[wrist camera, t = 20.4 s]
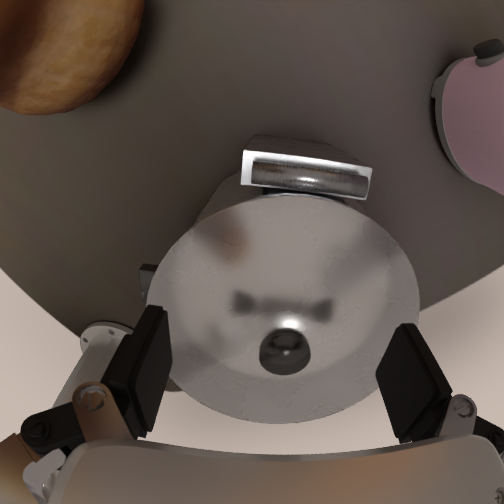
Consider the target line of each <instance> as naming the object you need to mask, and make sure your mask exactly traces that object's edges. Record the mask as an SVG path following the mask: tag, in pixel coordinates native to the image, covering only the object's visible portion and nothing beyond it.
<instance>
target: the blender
mask: <svg viewBox="0 0 504 504" xmlns="http://www.w3.org/2000/svg"><path fill="white" fill-rule="evenodd" d="M473 50H474V52H475V54H476V56H473V57H466V58H461V59H458V60H456V61H455V62H453V63H452V64H451V65H450V66H448V68H447V69H446V70H445V72H444V73H443V75H442V76H440V77H437V78H436V79H435V81H434V84H433V87H432V91H431V97H432V98H435V99H436V101H435V115H436V124H437V129H438V133H439V137H440V140H441V143H442V146H443V148H444V150H445V152H446V154H447V156H448V158H449V160H450V161H451V163H452V164H453V165H454V167H455V168H456V169H457V170H458V171H459V172H460V173H461V174H462V175H464V176H465V177H466V178H468V179H470V180H472V181H474V182H476V183H478V184H481V185H484V186H487V187H489V188H491V189H493V190H495V191H496V192H498V193H500V194H502V195H504V46H503V44H502V42H501V41H500V40H499V39H493V40H488V41H485V42H482V43H480V44H478V45H476V46H475V47H474V48H473Z"/></svg>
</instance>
